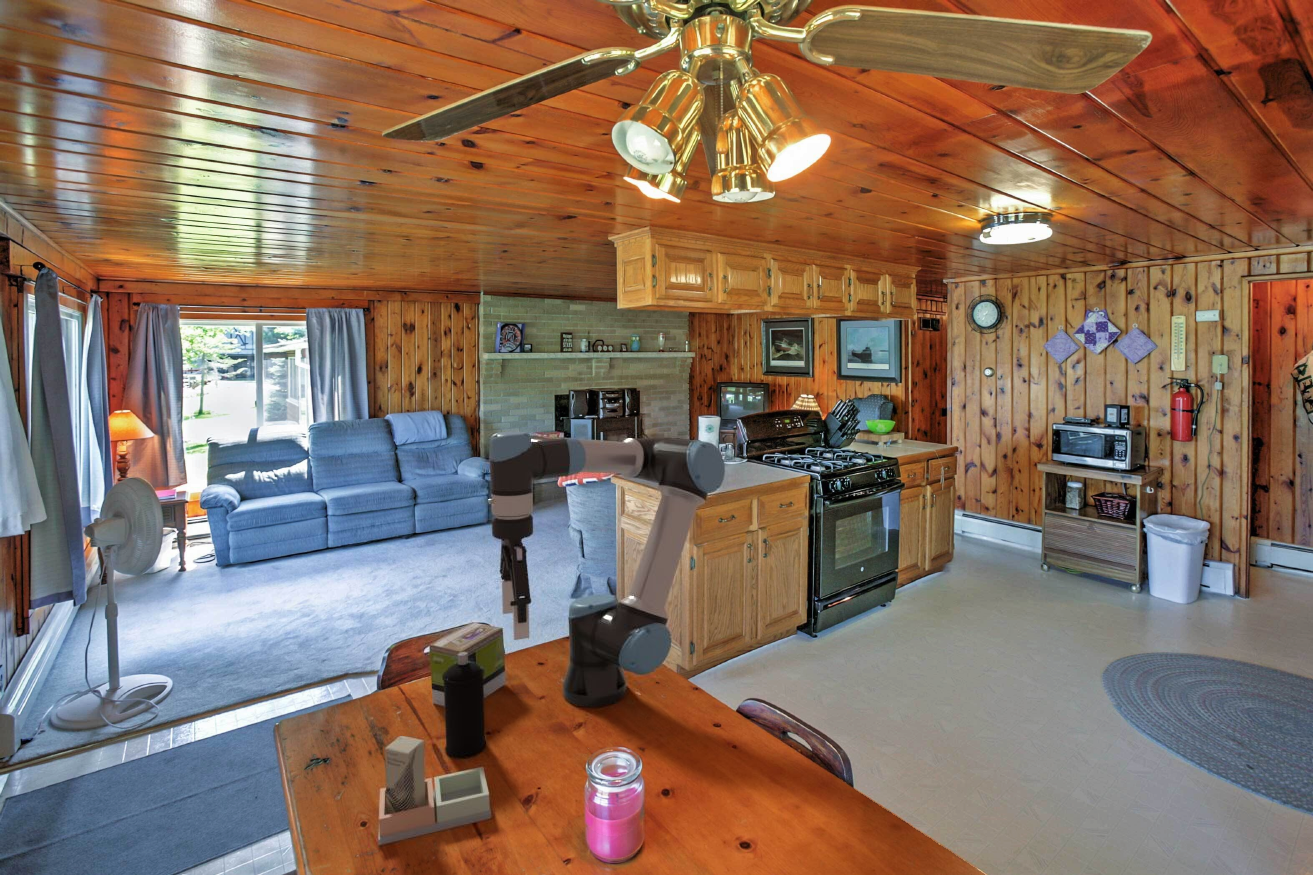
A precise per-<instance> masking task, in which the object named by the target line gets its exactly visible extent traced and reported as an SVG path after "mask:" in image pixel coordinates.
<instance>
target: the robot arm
mask: <svg viewBox="0 0 1313 875" xmlns="http://www.w3.org/2000/svg"><path fill="white" fill-rule="evenodd" d="M489 440H490V441H489V454H488V455H489V456H488V460H489V469H490V470H489V471H490V472H489V473H490V474H489V475H490V492H491V493H490V495H491V497H492V498H489V499H487V503H488V504H489V505H491V513H492V515H493V517H492V518H491V535H492V537H493V538H495V539H497V540H501V543H500V544H501V545H500V563H499V574H500V578H501V599H502V600H501V602H502V614H503V615H508V614H512V620H513V621H512V623H513V624H512V625H513V626H512V627H513V629H512V630H513V639H514V641H516V640H517V641H518V640H524V639H529V638H530V613H529V612H530V609H529V608H530V607H529V606H530V605H531V603H532V598H531V592H530V590H531V589H530V581H529V580H530V579H529V572H528V562H527V561H528V560H527V553H528V550H527V548H526V545H525V546H524V543H523V541H522V540H523V539H525V538H529V537H531V536H533V534H534V518H533V517H534V516H533V515H532V513H533V512H534V505H533V504H534V503H533V502H534V501H533V498H534V497H533V496H534V495H533V482H534V481H535V482H536V481H540V480H548V479H553V478H554V479H555V478H563V477H565V478H568V477H570V476H574V475H578V474H580V473H593V474H595V473H597V474H598V473H599V474H621V475H622V476H623V477H625V478H629V479H638V480H639V479H640V480H644V481H648V482H651V483H656V484H658V486H657V488H658V491H659V493H660V495H661V496H660V499H659V502H658V507H657V508H656V509H657V510H656V513H655V515H654V519H653V522H652V524H651V527H650V530H649V533H648V535H647V539H646V542H645V546H644V548H643V552H642V555H641V557H640V560H639V563H638V567H637V569H636V572H635V575H634V578H633V581H632V584H631V587H630V590H629V592H628V595H627V596H626V597H624V598H622V599H620V600H619V598H618V597H617V596H616V595H614V594H609V593H608V594H607V593H606V594H605V593H601V594H590V595H585V596H582V597H579V598H576V599H575V600H573V601H572V602H571V603H570V605H569V607H568V616H567V620H568V635H569V636H568V638H569V641H568V642H569V663H568V666H567V669H566V673H565V676H564V680H563V682H562V694H563V698H564V699H565V701H567V702H568V703H570V704H572V705H574V706H578V707H584V708H585V707H586V708H600V707H604V706H610V705H612V704H614V703H617V702H618V701H620V700H622V699H623V697H625V695H626V694H627V680H626V677H625V673H624V671H626V672H629V673H632V674H636V675H640V676H641V675H642V676H643V675H649V674H651V673H653V672H655V670H657V669H659V668H660V666H662V664H663V663H664V662H665V661H666V659H667V658H668V655H669V653H670V651H671V648H672V647H671V646H672V638H671V636H672V635H671V631H670V630H669V628H668V627H667V623H668V620H669V615H668V614H667V611H666V603H667V600H668V598H669V594H670V591H671V589H672V585H673V582H674V579H675V576H676V573H677V569H678V566H679V563H680V560H681V557H682V554H683V551H684V547H685V545H686V541H687V539H688V535H689V532H690V530H691V525H692V524H693V520H694V517H695V514H696V511H697V509H698V507H700V506H702V505H704V504H705V503H706V501H707V498H708V494H712V493H715V492H716V491H717V490H718V489H719V488H721V486H722V485H723V482H724V478H725V473H726V465H725V460H724V459H723V454H722V452H721V451H720V449H719V448H718V447H717V446H716V445H715V444H713V443H712V442H709V441H704V440H703V441H701V440H700V439H686V438H675V437H674V438H673V437H666V436H665V437H650V438H648V437H647V438H631V437H629V438H625V439H624V440H623V441H616V440H615V441H614V440H613V441H612V440H603V439H602V440H600V439H588V438H587V439H584V438H576V437H566V436H565V437H559V436H558V437H557V436H556V437H555V436H545V435H544V436H540V435H539V436H538V435H531V434H530V433H529V432H526V431H502V432H496V433H493V435H491V437H490V439H489Z"/></svg>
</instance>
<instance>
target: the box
mask: <svg viewBox="0 0 1313 875" xmlns="http://www.w3.org/2000/svg"><path fill="white" fill-rule="evenodd" d="M384 757H385V758H384V761H385V762H384V763H385V788H386V813H387V815H388V814H392V813H396V812H401V811H405V810H410V809H414V808H418V807H423V806H425V779H426V776H425V775H426V774H425V773H426V772H425V740H423V739H419V738H414V737H409V736H403V735H400V736H398V737H397V738H396V739H394V740H393V741H392V742H391V743H390V744H388V745H387V746H385V747H384Z"/></svg>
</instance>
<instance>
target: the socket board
mask: <svg viewBox="0 0 1313 875" xmlns="http://www.w3.org/2000/svg"><path fill="white" fill-rule="evenodd" d="M485 773H486V772H485V770H484V766H479V767H476V768H471V769H467V770H466V769H465V770H462V771H457V772H453V773H452V772H451V773H448V774H443V775H439V776H434V777H433V778H432V777H429V778H428V777H427V778H425V806H423V807H418V808H414V809H410V810H405V811H401V812H396V813H392V814H388V815H387V813H386V787H383V788H380V789H379V805H378V806H379V807H378V808H379V810H378V811H379V812H378V836H377V837H378V838H377V839H378V846H381V845H382V846H383V845H386V844H390V843H395V842H398V841H399V842H400V841H403V840H407V839H411V838H415V837H419V836H423V835H427V834H431V833H436V832H440V831H445V830H449V829H452V828H457V827H461V826H465V825H470V824H473V823H477V822H481V821H485V820H489V819H492V809H491V806H490V792H489V788H488V783H487V780H486V779H487V778H486V774H485ZM433 781H434V782H433ZM433 783H434V785H433ZM433 786H434V788H433Z"/></svg>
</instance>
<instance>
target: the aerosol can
mask: <svg viewBox="0 0 1313 875" xmlns="http://www.w3.org/2000/svg"><path fill="white" fill-rule="evenodd" d="M483 675H484V669H483V668H482V667H480V666H479V665H478V664H476V663H474V662H469V661H468V653H467V652H460V653H458V663H456V664H454V665H452V666H450V667H449V668H448V669H447V670H446V671H445V672H444V674H443V675H442V679H443V681H444V701H445V707H444V722H445V748H444V752H445V754H446V755H447V756H448V757H450V758H453V759H457V760H458V759H459V760H460V759H469V758H473V757H476V756H477V755H479V754H481V753H483V751H484V750H485V749H486V748H487V745H488V744H487V740H486V725H485V724H486V721H485V720H486V718H485V698H484V687H483Z"/></svg>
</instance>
